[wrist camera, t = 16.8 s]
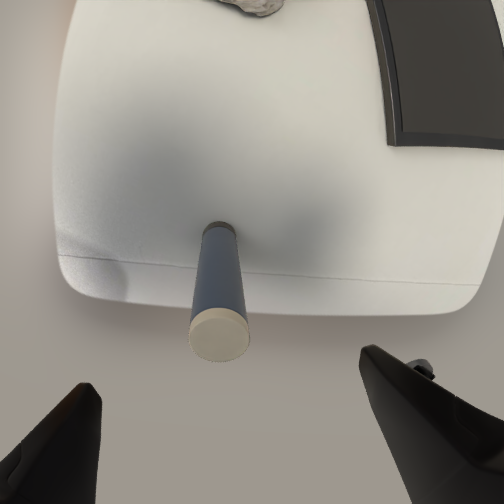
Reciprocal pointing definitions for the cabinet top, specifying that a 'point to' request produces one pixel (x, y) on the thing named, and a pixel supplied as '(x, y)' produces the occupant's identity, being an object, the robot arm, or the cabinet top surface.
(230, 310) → the stylus
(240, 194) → the cabinet top surface
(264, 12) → the stone
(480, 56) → the tablet
